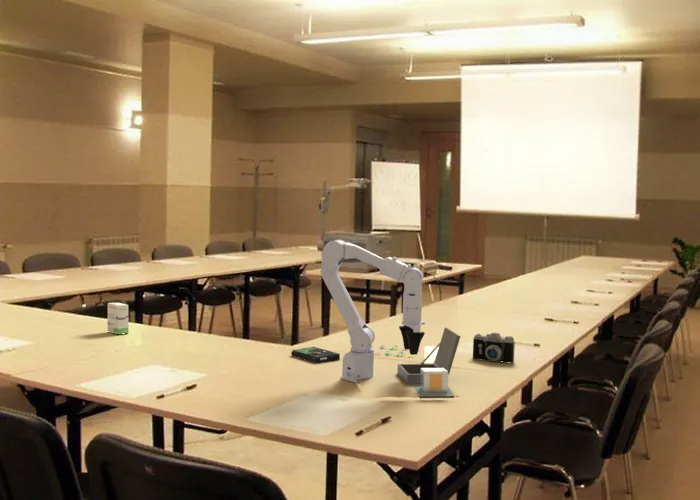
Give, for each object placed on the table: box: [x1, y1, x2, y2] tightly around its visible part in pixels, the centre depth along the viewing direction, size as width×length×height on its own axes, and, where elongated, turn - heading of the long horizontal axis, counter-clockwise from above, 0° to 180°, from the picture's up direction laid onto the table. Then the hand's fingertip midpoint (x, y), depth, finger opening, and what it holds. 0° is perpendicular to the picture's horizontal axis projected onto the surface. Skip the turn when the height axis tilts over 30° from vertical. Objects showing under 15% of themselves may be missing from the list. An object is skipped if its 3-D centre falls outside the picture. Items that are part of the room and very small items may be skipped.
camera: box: [472, 332, 516, 363], centre depth 268 cm, size 15×7×10 cm, turn 65°
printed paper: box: [375, 344, 439, 364], centre depth 279 cm, size 30×30×2 cm
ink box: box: [107, 302, 129, 334], centre depth 300 cm, size 9×5×12 cm, turn 45°
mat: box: [412, 385, 455, 399], centre depth 221 cm, size 10×10×1 cm
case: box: [397, 327, 461, 386], centre depth 235 cm, size 16×15×16 cm
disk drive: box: [290, 346, 341, 364], centre depth 265 cm, size 10×3×15 cm
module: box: [419, 368, 449, 392], centre depth 220 cm, size 7×5×6 cm
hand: (410, 351), depth 233 cm, fingers open, 7 cm apart
